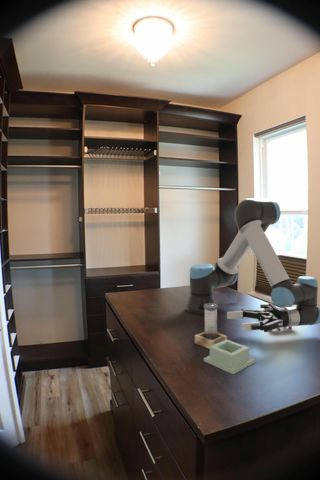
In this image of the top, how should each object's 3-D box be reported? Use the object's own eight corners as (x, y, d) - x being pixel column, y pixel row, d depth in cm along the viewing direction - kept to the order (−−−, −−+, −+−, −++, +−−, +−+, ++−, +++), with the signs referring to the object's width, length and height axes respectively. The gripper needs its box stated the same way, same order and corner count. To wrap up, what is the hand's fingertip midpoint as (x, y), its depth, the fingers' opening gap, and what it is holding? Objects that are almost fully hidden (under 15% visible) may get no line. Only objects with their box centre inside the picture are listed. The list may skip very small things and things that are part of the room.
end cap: (281, 323, 142) (282, 308, 141) (265, 323, 142) (266, 308, 142) (274, 316, 152) (275, 302, 151) (259, 316, 152) (260, 302, 152)
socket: (203, 361, 107) (203, 346, 106) (226, 350, 115) (226, 337, 114) (233, 374, 98) (233, 358, 97) (255, 362, 106) (255, 347, 105)
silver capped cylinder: (201, 343, 122) (201, 304, 120) (210, 339, 125) (210, 302, 124) (211, 347, 118) (211, 307, 116) (220, 343, 121) (220, 304, 120)
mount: (194, 342, 122) (194, 335, 122) (209, 337, 127) (209, 329, 127) (212, 350, 115) (212, 342, 115) (226, 343, 121) (226, 335, 121)
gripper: (304, 338, 114) (249, 343, 110) (268, 316, 139) (222, 320, 135) (304, 318, 114) (249, 322, 110) (268, 299, 138) (222, 302, 134)
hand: (234, 321), depth 122 cm, fingers open, 13 cm apart
